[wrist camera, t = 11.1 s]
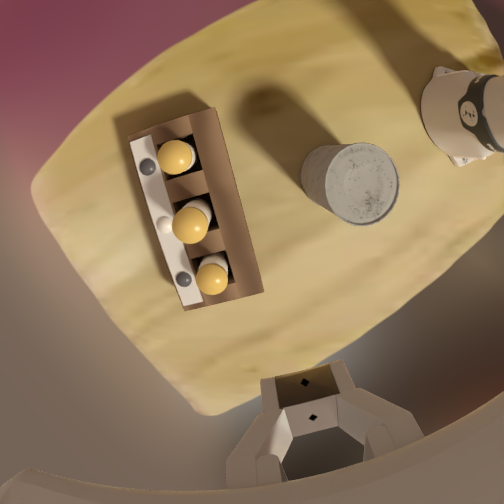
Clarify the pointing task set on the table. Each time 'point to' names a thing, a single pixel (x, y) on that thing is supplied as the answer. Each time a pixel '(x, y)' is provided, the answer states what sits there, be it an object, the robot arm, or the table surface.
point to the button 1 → (177, 157)
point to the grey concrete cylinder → (352, 181)
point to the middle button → (192, 221)
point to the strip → (164, 219)
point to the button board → (223, 199)
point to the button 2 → (213, 273)
